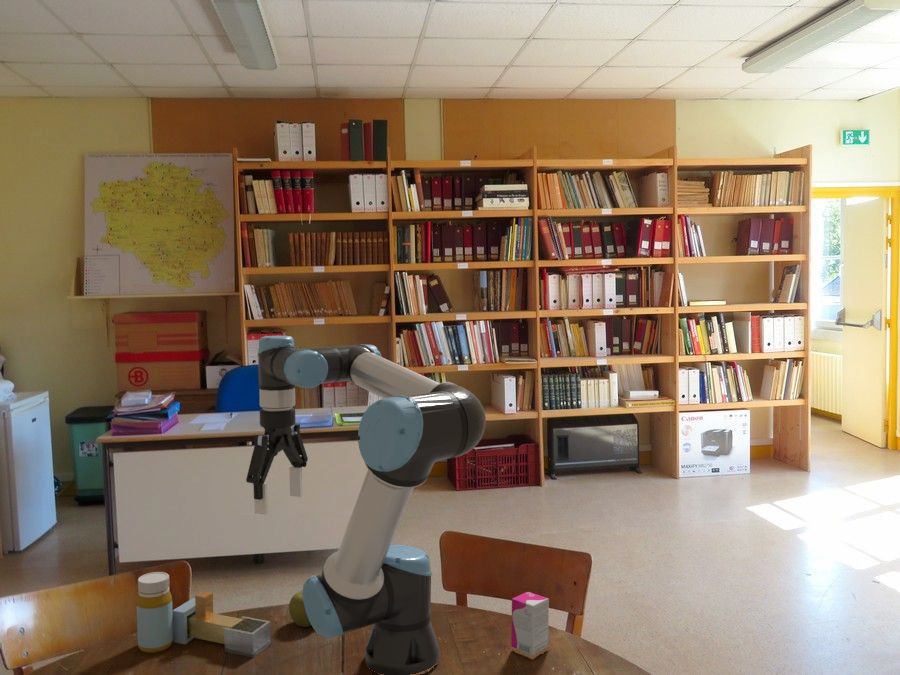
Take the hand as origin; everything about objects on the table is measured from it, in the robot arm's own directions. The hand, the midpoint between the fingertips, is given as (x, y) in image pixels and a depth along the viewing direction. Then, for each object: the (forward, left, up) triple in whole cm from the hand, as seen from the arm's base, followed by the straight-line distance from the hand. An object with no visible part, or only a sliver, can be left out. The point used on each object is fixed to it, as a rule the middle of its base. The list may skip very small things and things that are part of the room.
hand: (279, 504), depth 171 cm
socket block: (+18, +9, -29) cm, 35 cm away
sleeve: (+3, +9, -29) cm, 30 cm away
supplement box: (-53, -11, -29) cm, 62 cm away
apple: (-3, -5, -29) cm, 30 cm away
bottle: (+21, +15, -29) cm, 39 cm away
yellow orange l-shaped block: (+11, +9, -28) cm, 31 cm away
